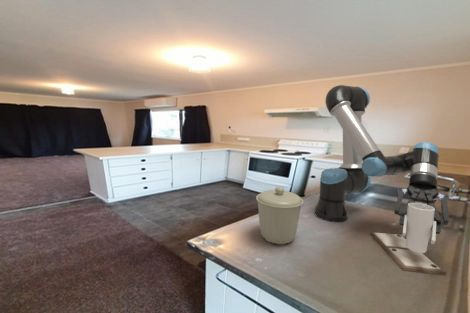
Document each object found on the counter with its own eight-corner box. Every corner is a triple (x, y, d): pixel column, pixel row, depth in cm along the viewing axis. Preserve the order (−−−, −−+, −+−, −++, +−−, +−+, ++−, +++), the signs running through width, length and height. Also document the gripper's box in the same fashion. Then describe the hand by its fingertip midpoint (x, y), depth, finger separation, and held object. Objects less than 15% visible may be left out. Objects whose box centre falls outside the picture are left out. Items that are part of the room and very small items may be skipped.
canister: (245, 237, 87) (246, 186, 84) (271, 223, 100) (272, 178, 97) (286, 256, 75) (289, 198, 72) (308, 237, 88) (312, 187, 85)
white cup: (397, 244, 75) (402, 202, 73) (416, 243, 76) (421, 202, 74) (415, 255, 69) (421, 210, 67) (435, 254, 69) (441, 209, 67)
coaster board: (402, 270, 69) (403, 265, 68) (370, 234, 91) (370, 230, 91) (445, 275, 67) (446, 270, 66) (401, 237, 89) (402, 233, 89)
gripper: (458, 189, 75) (458, 253, 65) (390, 180, 87) (381, 233, 77) (463, 177, 70) (464, 244, 60) (390, 169, 82) (381, 224, 72)
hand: (418, 238), depth 69 cm, fingers closed on white cup, 6 cm apart
